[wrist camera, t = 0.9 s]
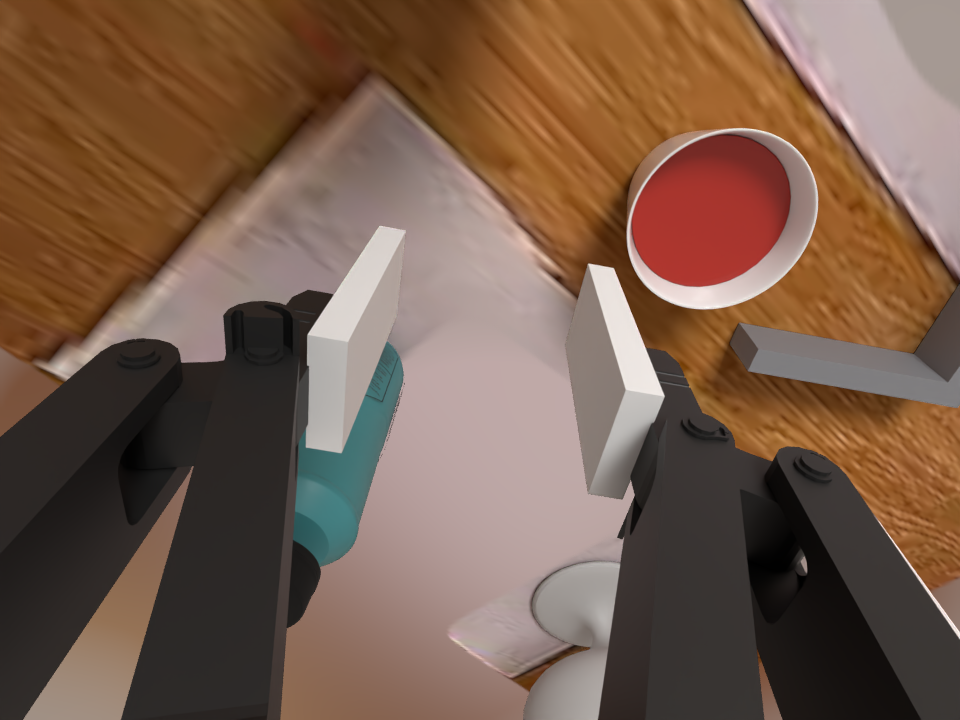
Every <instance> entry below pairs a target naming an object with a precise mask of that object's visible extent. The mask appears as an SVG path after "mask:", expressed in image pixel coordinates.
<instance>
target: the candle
mask: <svg viewBox="0 0 960 720" xmlns="http://www.w3.org/2000/svg"><path fill="white" fill-rule="evenodd" d="M817 211H818V193H817V186H816V182H815V179H814V176H813V173H812V171H811V169H810V167H809V165H808V163H807V162H806V160H805V159H804V157H803V156H802V155H801V154H800V153H799V151H798V150H796V149H795V148H794V147H793V146H792V145H791V144H789V143H788V142H786V141H785V140H783V139H781V138H780V137H778V136H775V135H773V134H770V133H768V132H764V131H760V130H755V129H747V128H730V129H715V130H701V131H693V132H687V133H683V134H680V135H677V136H674V137H672V138H670V139H668V140H666V141H664V142H663V143H661V144H660V145H658V146H657V147H656V148H654V149H653V150H652V151H651V152H650V153H649V154H648V155H647V156H646V157H645V158H644V160H643V161H642V162H641V164H640V165H639V166H638V168H637V170H636V172H635V174H634V176H633V178H632V181H631V184H630V187H629V192H628V199H627V228H626V238H627V248H628V253H629V257H630V260H631V263H632V265H633V268H634V270H635V272H636V273H637V275H638V277H639V278H640V279H641V281H642V282H643V283H644V284H645V286H646V287H647V288H648V289H650V290H651V291H652V292H653V293H654V294H656V295H657V296H659V297H660V298H662V299H664V300H666V301H668V302H670V303H672V304H675V305H678V306H682V307H686V308H692V309H717V308H723V307H728V306H732V305H735V304H738V303H741V302H744V301H746V300H749V299H751V298H753V297H755V296H757V295H759V294H760V293H762V292H764V291H765V290H767V289H768V288H770V287H771V286H772V285H774V284H775V283H776V282H777V281H779V280H780V279H781V278H782V277H783V276H784V275H785V274H786V273H787V272H788V271H789V270H790V269H791V268H792V267H793V265H794V264H795V263H796V262H797V260H798V259H799V257H800V256H801V254H802V253H803V251H804V250H805V248H806V246H807V244H808V242H809V240H810V237H811V235H812V232H813V229H814V226H815V222H816V218H817Z"/></svg>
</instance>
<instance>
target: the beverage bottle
mask: <svg viewBox="0 0 960 720" xmlns="http://www.w3.org/2000/svg"><path fill="white" fill-rule="evenodd" d="M403 376H404V374H403V367H402V363H401V360H400V357H399V355H398V353H397V352H396V350H395V349H394V348H393V347H392V345H391V344H390V343H388V342H386V344H385V347H384V349H383V352H382V354H381V357H380V359H379V362H378V364H377V367H376V369H375V372H374V374H373V376H372V379H371V381H370V384H369V386H368V389H367V391H366V394H365V396H364V399H363V401H362V404H361V406H360V409H359V411H358V414H357V416H356V419H355V421H354V424H353V426H352V429H351V431H350V434H349V436H348V439H347V441H346V444H345V446H344V449H343V451H342V453H337V452H331V451H325V450H319V449H312V448H306V429H305V431H304V433H303V435H302V437H301V439H300V441H299V462H298V476H297V490H296V504H295V518H294V532H293V546H292V560H291V574H290V588H289V602H288V616H287V628H288V627H291V626H292V625H294V624H295V623H297V622H298V621H299V620H300V618H301V617H302V616H303V614H304V612H305V610H306V608H307V605H308V603H309V601H310V599H311V596H312V595H313V593H314V592H315V590H316V587H317V585H318V582H319V579H320V575H321V571H320V567H321V566H324V565H327V564H330V563H332V562H334V561H336V560H338V559H340V558H341V557H342V556H344V555H345V554H346V553H347V552H348V551H349V550H350V549H351V547H352V546H353V544H354V542H355V540H356V537H357V534H358V526H359V522H360V519H361V516H362V513H363V509H364V506H365V502H366V499H367V496H368V492H369V489H370V486H371V483H372V479H373V476H374V473H375V469H376V466H377V462H378V461H379V456H380V453H381V451H382V448H383V446H384V442H385V439H386V436H387V433H388V430H389V426H390V423H391V420H392V417H393V413H394V410H395V407H396V403H397V400H398V397H399V394H400V390H401V387H402V383H403ZM397 406H398V405H397ZM396 411H397V410H396Z"/></svg>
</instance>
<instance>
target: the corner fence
mask: <svg viewBox="0 0 960 720" xmlns="http://www.w3.org/2000/svg"><path fill="white" fill-rule="evenodd" d="M730 345H731V347H732V348H733V350H734V351H735V353H736V354H737V356H738V357H739V359H740V360H741V362H742V363H743V365H744V366H745V368H746V369H747V371H750V372H756V373H761V374H767V375H773V376H778V377H784V378H790V379H795V380H801V381H807V382H813V383H818V384H824V385H830V386H835V387H841V388H847V389H852V390H858V391H864V392H869V393H875V394H881V395H887V396H892V397H898V398H904V399H909V400H915V401H921V402H926V403H932V404H938V405H943V406H949V407H955V408H958V406H959V405H960V284H959V286H958V287H957V289H956V290H955V292H954V293H953V295H952V296H951V298H950V299H949V301H948V302H947V304H946V305H945V307H944V308H943V310H942V312H941V313H940V315H939V316H938V318H937V319H936V321H935V322H934V324H933V325H932V327H931V328H930V330H929V331H928V333H927V334H926V336H925V338H924V339H923V341H922V342H921V344H920V345H919V347H918V348H917V350H916V351H915V353H914V354H911V353H906V352H900V351H895V350H889V349H883V348H878V347H872V346H867V345H861V344H855V343H850V342H844V341H839V340H833V339H828V338H822V337H816V336H811V335H805V334H800V333H794V332H788V331H783V330H777V329H772V328H766V327H761V326H755V325H749V324H744V323H739V324H738V326H737V328H736V331H735V333H734V335H733V337H732V339H731V342H730Z"/></svg>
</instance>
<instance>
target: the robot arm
mask: <svg viewBox="0 0 960 720" xmlns="http://www.w3.org/2000/svg"><path fill="white" fill-rule="evenodd" d="M405 236H406V230H401V229H395V228H390V227H384V226H379V227H378V229H377V230H376V232H375V233H374V235H373V236H372V238H371V239H370V241H369V242H368V244H367V246H366V247H365V249H364V250H363V252H362V253H361V255H360V256H359V258H358V259H357V261H356V262H355V264H354V265H353V267H352V268H351V270H350V271H349V273H348V274H347V276H346V277H345V279H344V280H343V282H342V283H341V285H340V286H339V288H338V289H337V291H336V292H335V294H329V293H323V292H317V291H312V290H307V291H304V292H302V293H300V294H298V295H296V296H294V297H292V298H291V300H290V301H289V302H288V303H287V305H283V304H280V303H275V302H268V301H254V302H247V303H242V304H238V305H236V306H234V307H232V308H230V309H228V310H227V312H226V313H225V314H224V315H223V317H224V331H225V345H226V356H225V360H224V361H218V362H196V363H181V359H180V354H179V351H178V348H176V347H175V346H173V345H172V344H171V343H168V342H164V341H161V340H156V339H145V338H142V339H136V340H135V339H132V340H127V341H124V342H121V343H117V344H114V345H111V346H110V347H108V348H106V349H105V350H103V351H101V352H100V353H99V354H98V355H96V356H95V357H94V358H93V359H92V360H91V361H89V362H88V363H87V364H86V365H85V366H83V367H82V368H81V369H80V370H79V371H78V372H76V373H75V374H74V375H73V376H72V377H70V378H69V379H68V380H67V381H66V382H65V383H63V384H62V385H61V386H60V387H59V388H58V389H56V390H55V391H54V392H53V393H52V394H50V395H49V396H48V397H47V398H46V399H45V400H43V401H42V402H41V403H40V404H39V405H37V406H36V407H35V408H34V409H33V410H32V411H31V412H29V413H28V414H27V415H26V416H24V417H23V418H22V419H21V420H20V421H19V422H18V423H16V424H15V425H14V426H13V427H11V428H10V429H9V430H8V431H7V432H6V433H4V434H3V435H2V436H1V437H0V720H23V719H24V717H25V715H26V714H27V713H28V711H29V710H30V708H31V707H32V705H33V704H34V702H35V701H36V699H37V698H38V696H39V695H40V693H41V692H42V690H43V689H44V687H45V686H46V685H47V683H48V682H49V680H50V679H51V677H52V676H53V674H54V673H55V671H56V670H57V668H58V667H59V665H60V664H61V662H62V661H63V659H64V658H65V656H66V655H67V653H68V652H69V650H70V649H71V647H72V646H73V644H74V643H75V641H76V640H77V639H78V637H79V635H80V634H81V633H82V631H83V629H84V628H85V627H86V625H87V623H88V622H89V621H90V619H91V618H92V616H93V615H94V613H95V612H96V610H97V609H98V607H99V606H100V604H101V603H102V601H103V600H104V598H105V597H106V595H107V594H108V592H109V591H110V589H111V588H112V587H113V585H114V584H115V582H116V581H117V579H118V578H119V576H120V575H121V573H122V572H123V570H124V569H125V567H126V566H127V564H128V563H129V561H130V560H131V558H132V557H133V555H134V554H135V552H136V551H137V549H138V548H139V546H140V545H141V543H142V542H143V540H144V539H145V538H146V536H147V535H148V533H149V532H150V530H151V529H152V527H153V525H154V524H155V523H156V521H157V520H158V518H159V517H160V515H161V514H162V512H163V511H164V509H165V508H166V506H167V505H168V503H169V502H170V500H171V499H172V497H173V496H174V494H175V493H176V491H177V490H178V488H179V487H180V486H181V484H182V483H183V481H184V480H185V478H186V476H187V475H188V473H189V472H190V470H191V467H192V466H194V468H193V471H192V475H191V478H190V482H189V485H188V489H187V492H186V496H185V499H184V503H183V506H182V510H181V513H180V516H179V520H178V524H177V527H176V530H175V534H174V538H173V541H172V544H171V548H170V551H169V555H168V558H167V562H166V565H165V569H164V573H163V576H162V579H161V583H160V586H159V589H158V593H157V597H156V600H155V604H154V607H153V611H152V614H151V617H150V621H149V624H148V628H147V631H146V635H145V638H144V642H143V645H142V648H141V652H140V655H139V659H138V662H137V666H136V669H135V673H134V676H133V680H132V684H131V687H130V690H129V694H128V697H127V701H126V705H125V708H124V711H123V715H122V718H121V720H280V714H281V700H282V686H283V672H284V658H285V645H286V631H287V616H288V602H289V588H290V574H291V560H292V546H293V532H294V518H295V504H296V490H297V476H298V462H299V441H300V439H301V437H302V435H303V433H304V431H305V429H306V448H312V449H319V450H325V451H331V452H337V453H342V451H343V449H344V446H345V444H346V441H347V439H348V436H349V434H350V431H351V429H352V426H353V424H354V421H355V419H356V416H357V414H358V411H359V409H360V406H361V404H362V401H363V399H364V396H365V394H366V391H367V389H368V386H369V384H370V381H371V379H372V376H373V374H374V372H375V369H376V367H377V364H378V362H379V359H380V357H381V354H382V352H383V349H384V347H385V344H386V342H387V339H388V337H389V334H390V332H391V329H392V327H393V324H394V322H395V319H396V317H397V312H398V302H399V293H400V283H401V274H402V264H403V255H404V245H405ZM565 347H566V354H567V360H568V367H569V373H570V380H571V386H572V393H573V399H574V406H575V412H576V419H577V425H578V432H579V438H580V444H581V451H582V458H583V464H584V471H585V478H586V484H587V491H588V494H591V495H598V496H604V497H610V498H616V499H623V497H624V494H625V492H626V490H627V487H628V485H629V483H630V480H631V482H632V486H633V490H634V493H635V496H634V499H633V501H632V503H631V506H630V508H629V511H628V513H627V515H626V518H625V520H624V522H623V525H622V527H621V529H620V532H619V534H618V537H617V538H620V539H623V537H624V542H623V549H622V556H621V563H620V570H619V577H618V584H617V590H616V597H615V604H614V611H613V618H612V625H611V632H610V639H609V646H608V653H607V660H606V667H605V674H604V681H603V687H602V694H601V701H600V708H599V715H598V720H764V713H763V703H762V694H761V684H760V675H759V666H758V656H757V649H758V652H759V655H760V658H761V660H762V663H763V666H764V669H765V672H766V674H767V677H768V680H769V683H770V686H771V688H772V691H773V694H774V697H775V699H776V702H777V705H778V708H779V711H780V714H781V717H782V719H783V720H960V639H959V637H958V636H957V634H956V633H955V632H954V630H953V629H952V627H951V626H950V624H949V623H948V621H947V620H946V619H945V617H944V616H943V614H942V613H941V611H940V610H939V608H938V607H937V605H936V604H935V603H934V601H933V600H932V598H931V597H930V595H929V594H928V592H927V591H926V590H925V588H924V587H923V585H922V584H921V582H920V581H919V579H918V578H917V577H916V575H915V574H914V572H913V571H912V569H911V568H910V566H909V565H908V564H907V562H906V561H905V559H904V558H903V556H902V555H901V553H900V552H899V551H898V549H897V548H896V546H895V545H894V543H893V542H892V540H891V539H890V538H889V536H888V535H887V533H886V532H885V530H884V529H883V527H882V526H881V524H880V523H879V522H878V520H877V519H876V517H875V516H874V514H873V513H872V511H871V510H870V509H869V507H868V506H867V504H866V503H865V501H864V500H863V498H862V497H861V496H860V494H859V493H858V491H857V490H856V488H855V487H854V485H853V484H852V483H851V481H850V480H849V478H848V477H847V475H846V474H845V473H844V472H843V471H842V470H841V469H840V468H839V467H838V466H837V465H835V464H834V463H833V462H831V461H830V460H829V459H828V458H826V457H825V456H823V455H821V454H820V455H819V454H818V453H817V452H814V451H812V450H807V449H803V448H800V447H784V448H781V449H779V451H778V453H777V454H776V456H775V458H774V460H773V461H769V460H766V459H763V458H761V457H758V456H755V455H752V454H750V453H747V452H744V451H742V450H740V449H738V448H735V440H734V438H733V435H732V433H731V432H730V431H729V430H728V429H727V427H726V426H725V425H724V424H722V423H721V422H719V421H718V420H716V419H715V418H713V417H711V416H708V415H706V414H704V413H702V411H701V409H700V407H699V405H698V403H697V401H696V399H695V397H694V395H693V392H692V390H691V388H689V384H688V382H687V380H686V378H684V374H683V371H682V369H681V367H680V365H679V363H678V362H677V361H676V360H674V359H673V358H672V357H671V356H670V355H669V354H668V353H667V352H666V351H661V350H655V349H650V348H645V346H644V343H643V341H642V338H641V336H640V333H639V331H638V328H637V325H636V323H635V320H634V318H633V315H632V313H631V310H630V308H629V305H628V303H627V300H626V298H625V295H624V293H623V290H622V288H621V285H620V283H619V280H618V278H617V275H616V273H615V270H614V268H610V267H605V266H599V265H594V264H588V266H587V269H586V273H585V276H584V280H583V283H582V287H581V290H580V294H579V297H578V301H577V304H576V308H575V311H574V315H573V319H572V322H571V326H570V329H569V333H568V336H567V340H566V343H565ZM804 556H805V559H806V562H807V573H806V572H805V570H804V568H803V566H802V564H801V560H802V559H803V557H804ZM756 646H757V647H756Z"/></svg>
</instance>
